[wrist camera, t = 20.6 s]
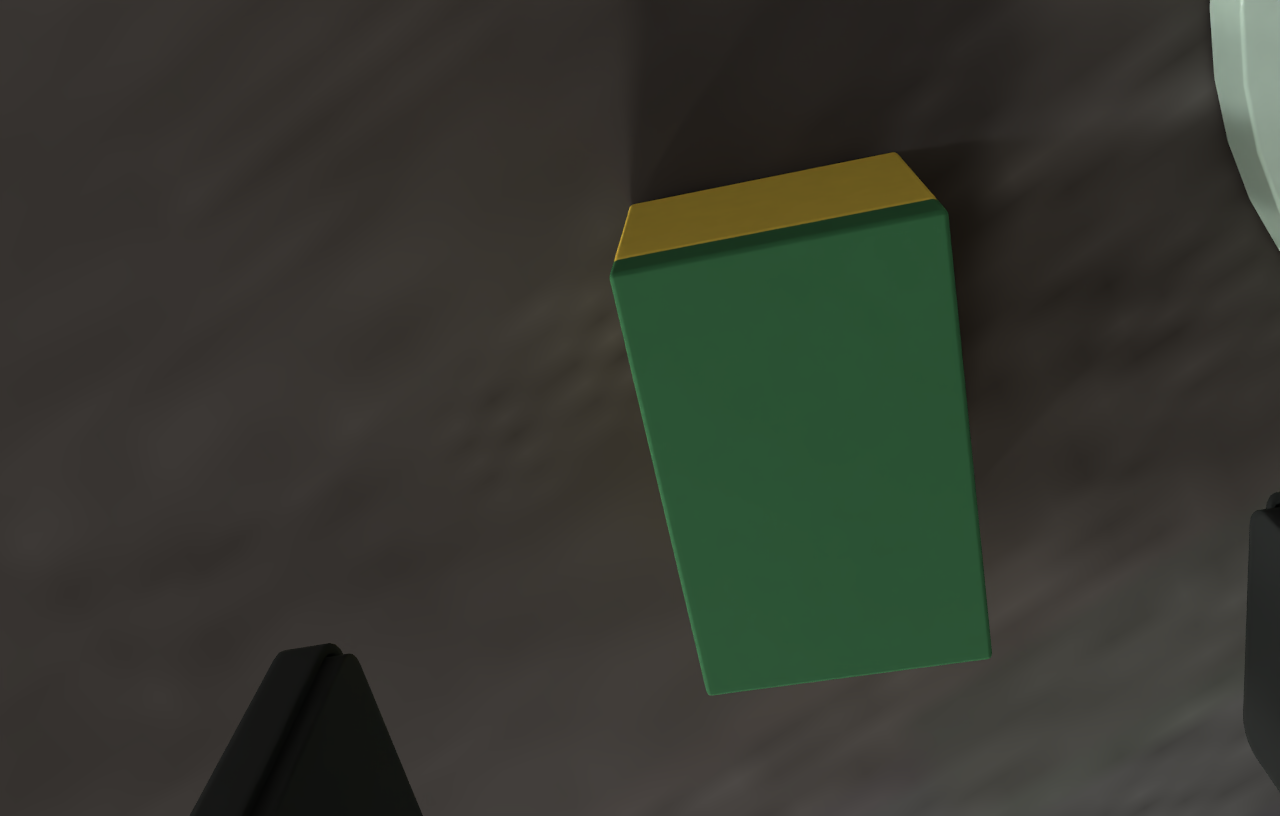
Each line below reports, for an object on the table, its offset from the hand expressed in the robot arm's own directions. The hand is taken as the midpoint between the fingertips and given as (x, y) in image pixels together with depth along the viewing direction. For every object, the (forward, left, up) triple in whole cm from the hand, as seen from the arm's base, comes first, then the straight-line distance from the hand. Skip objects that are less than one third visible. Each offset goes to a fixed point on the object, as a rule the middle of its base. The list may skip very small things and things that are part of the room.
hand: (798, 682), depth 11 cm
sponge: (+1, +1, -11) cm, 11 cm away
